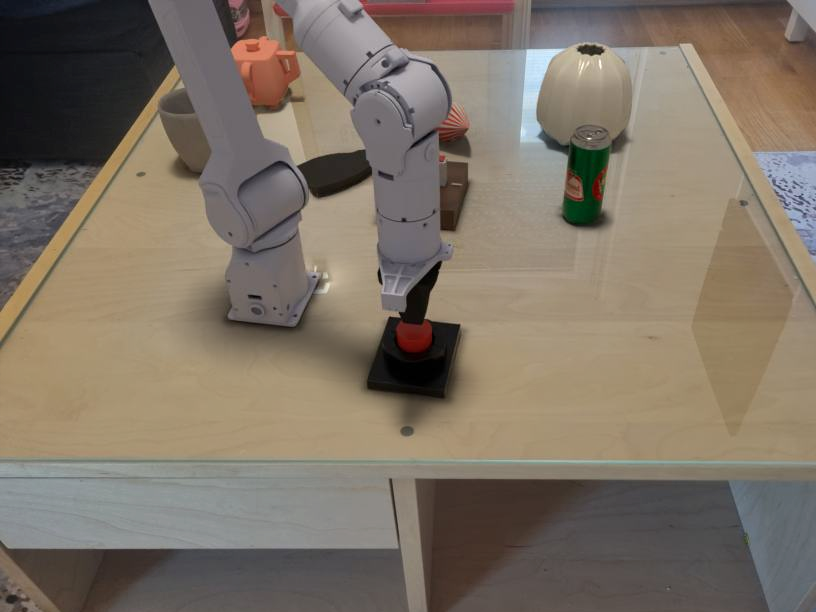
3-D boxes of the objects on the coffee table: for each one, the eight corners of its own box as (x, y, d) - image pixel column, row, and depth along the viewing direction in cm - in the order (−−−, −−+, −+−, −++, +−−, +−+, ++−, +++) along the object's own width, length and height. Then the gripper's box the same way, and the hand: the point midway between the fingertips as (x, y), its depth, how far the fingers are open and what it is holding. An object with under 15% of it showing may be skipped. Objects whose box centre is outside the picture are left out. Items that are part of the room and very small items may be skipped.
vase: (528, 152, 111) (535, 63, 102) (543, 110, 121) (550, 25, 111) (622, 164, 108) (637, 74, 99) (629, 120, 118) (644, 34, 109)
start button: (428, 355, 76) (428, 342, 74) (393, 350, 76) (392, 338, 75) (435, 331, 78) (434, 318, 77) (401, 327, 79) (400, 315, 77)
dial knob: (400, 183, 99) (399, 157, 96) (403, 176, 100) (401, 151, 97) (445, 186, 98) (445, 161, 96) (447, 180, 99) (447, 155, 97)
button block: (444, 398, 75) (444, 377, 73) (367, 388, 76) (364, 368, 74) (460, 332, 82) (460, 311, 80) (389, 324, 83) (387, 303, 81)
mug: (243, 171, 107) (229, 107, 100) (179, 184, 104) (161, 119, 97) (227, 134, 115) (213, 72, 108) (168, 145, 112) (150, 83, 105)
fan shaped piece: (402, 170, 107) (402, 159, 106) (317, 199, 101) (315, 189, 100) (373, 146, 112) (372, 136, 111) (290, 172, 106) (288, 162, 105)
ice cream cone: (414, 131, 124) (478, 156, 109) (382, 118, 120) (443, 142, 105) (427, 95, 123) (494, 115, 108) (395, 80, 119) (459, 99, 104)
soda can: (555, 209, 100) (564, 126, 91) (588, 202, 101) (600, 119, 93) (572, 230, 96) (583, 145, 88) (606, 222, 98) (621, 138, 89)
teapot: (211, 98, 124) (197, 39, 117) (275, 78, 129) (265, 21, 122) (245, 123, 117) (232, 63, 110) (310, 101, 123) (302, 42, 116)
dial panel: (454, 230, 96) (454, 209, 94) (377, 222, 97) (375, 202, 95) (468, 181, 105) (469, 161, 103) (397, 175, 106) (396, 155, 104)
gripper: (437, 257, 60) (439, 375, 69) (465, 166, 71) (464, 279, 80) (352, 249, 61) (366, 366, 70) (392, 160, 71) (400, 272, 81)
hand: (413, 319), depth 75 cm, fingers closed
